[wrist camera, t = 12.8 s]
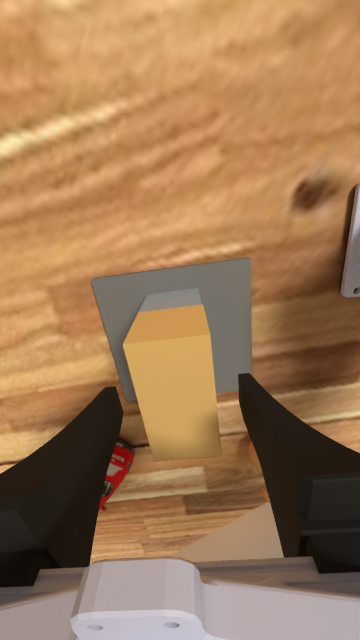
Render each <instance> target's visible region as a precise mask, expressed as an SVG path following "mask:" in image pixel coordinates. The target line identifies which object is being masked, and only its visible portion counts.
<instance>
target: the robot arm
mask: <svg viewBox="0 0 360 640" xmlns="http://www.w3.org/2000/svg"><path fill="white" fill-rule="evenodd" d="M355 288H357V290H356V292H353V291H354V289H355ZM341 295H342V296H344V297H346V298H351V297H359V296H360V182H359V184H358V185H357V187H356V190H355V197H354V204H353V211H352V218H351V224H350V231H349V238H348V245H347V252H346V258H345V265H344V272H343V279H342V285H341ZM238 385H239V403H240V407H241V411H242V415H243V419H244V422H245V424H246V427H247V430H248V432H249V435H250V438H251V440H252V443H253V446H254V448H255V451H256V454H257V457H258V460H259V463H260V466H261V469H262V473H263V476H264V480H265V484H266V488H267V491H268V495H269V499H270V503H271V506H272V510H273V514H274V518H275V522H276V526H277V530H278V534H279V538H280V542H281V545H282V550H283V555H284V558H269V559H250V560H249V559H248V560H227V561H206V562H191V561H189V560H186V559H184V558H181V557H171V556H161V557H141V558H121V559H105V560H100V561H95V562H93V563H92V564H91V565H89V564H90V558H91V551H92V544H93V538H94V533H95V527H96V521H97V516H98V511H99V506H100V501H101V496H102V491H103V487H104V482H105V478H106V474H107V470H108V467H109V464H110V461H111V458H112V455H113V451H114V448H115V445H116V442H117V439H118V436H119V432H120V429H121V424H122V418H123V409H122V406H121V403H120V399H119V396H118V393H117V390H116V386H114V387H105V388H104V389H103V390H102V391H101V392H100V393H99V394H98V395H97V397H96V398H95V399H94V400H93V401H92V402H91V403H90V404H89V405H88V406H87V407H86V408H85V409H84V410H83V411H82V412H81V413H80V414H79V415H78V416H77V417H76V418H75V419H74V420H73V421H72V422H71V423H69V424H68V425H67V426H66V427H65V428H64V429H63V430H62V431H61V432H59V433H58V434H57V435H56V436H55V437H53V438H52V439H51V440H50V441H48V442H47V443H46V444H44V445H43V446H42V447H40V448H39V449H38V450H36V451H35V452H33V453H32V454H31V455H29V456H28V457H26V458H25V459H23V460H22V461H20V462H19V463H17V464H16V465H14V466H12V467H11V468H9V469H8V470H6V471H4V472H3V473H1V474H0V640H360V453H358V452H356V451H354V450H352V449H349V448H347V447H345V446H343V445H341V444H340V443H338V442H336V441H334V440H332V439H330V438H328V437H327V436H325V435H323V434H322V433H320V432H318V431H317V430H315V429H314V428H312V427H310V426H309V425H307V424H306V423H304V422H303V421H301V420H300V419H299V418H297V417H296V416H295V415H293V414H292V413H291V412H289V411H288V410H287V409H286V408H284V407H283V406H282V405H281V404H280V403H279V402H278V401H276V400H275V399H274V398H273V397H272V396H271V395H270V394H269V393H268V392H267V391H266V390H265V389H264V388H263V387H262V386H261V385H260V384H259V383H258V382H257V381H256V380H255V379H254V377H253V376H252V375H251V374H250V373H242V374H238Z"/></svg>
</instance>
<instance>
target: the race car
mask: <svg viewBox="0 0 360 640" xmlns="http://www.w3.org/2000/svg"><path fill="white" fill-rule="evenodd" d="M134 454H135V449H134V448H133V447H131V444H130V445H129V444H128V445H127V443H125V442H123V441H120V440H118V439H117V442H116V445H115V448H114V451H113V455H112V458H111V461H110V464H109V467H108V470H107V474H106V478H105V482H104V487H103V491H102V496H101V501H100V506H99V510H100V509H101V508H102V510H104V511H106V509H107V507H105V506H103V505H104V504H105V503H106V502H107V500H108V499H109V498H110V496H111V495H112V494H113V492H114V491H115V490H116V489H117V487H118V486H119V485H120V483H121V482H122V481H123V480H124V478H125V477H126V475H127V474H128V472H129V470H130V467H131V465H132V462H133V458H134Z"/></svg>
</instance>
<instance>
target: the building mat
mask: <svg viewBox="0 0 360 640" xmlns="http://www.w3.org/2000/svg"><path fill="white" fill-rule="evenodd" d="M91 282H92V286H93V289H94V293H95V296H96V299H97V303H98V306H99V310H100V313H101V316H102V320H103V323H104V327H105V330H106V333H107V337H108V340H109V344H110V347H111V350H112V354H113V357H114V361H115V364H116V368H117V371H118V374H119V378H120V381H121V385H122V388H123V391H124V395H125V398H126V401H136V400H137V396H136V393H135V389H134V385H133V382H132V378H131V374H130V370H129V367H128V363H127V359H126V355H125V352H124V348H123V343H124V341H125V339H126V336H127V334H128V332H129V330H130V328H131V326H132V324H133V322H134V320H135V318H136V316H137V314H138V312H139V310H140V308H141V306H142V304H143V302H144V300H145V298H146V296H147V295H149V294H156V293H164V292H172V291H179V290H187V289H194V288H198V290H199V294H200V299H201V303H202V304H203V306H204V310H205V314H206V318H207V323H208V327H209V331H210V336H211V347H212V358H213V368H214V379H215V390H216V393H219V392H229V391H239V385H238V374H242V373H250V374H251V375H252V339H251V263H250V258H249V257H247V258H239V259H232V260H224V261H217V262H209V263H202V264H194V265H187V266H180V267H172V268H165V269H157V270H150V271H142V272H135V273H127V274H120V275H113V276H105V277H98V278H93V279H91Z"/></svg>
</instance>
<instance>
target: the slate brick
mask: <svg viewBox="0 0 360 640" xmlns="http://www.w3.org/2000/svg"><path fill="white" fill-rule="evenodd" d="M201 304H202V303H201V299H200V294H199V290H198V288H194V289H187V290H179V291H172V292H164V293H156V294H149V295H147V296H146V298H145V300H144V302H143V304H142V306H141V308H140V310H139V312H144V311H153V310H161V309H169V308H177V307H185V306H193V305H201Z"/></svg>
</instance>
